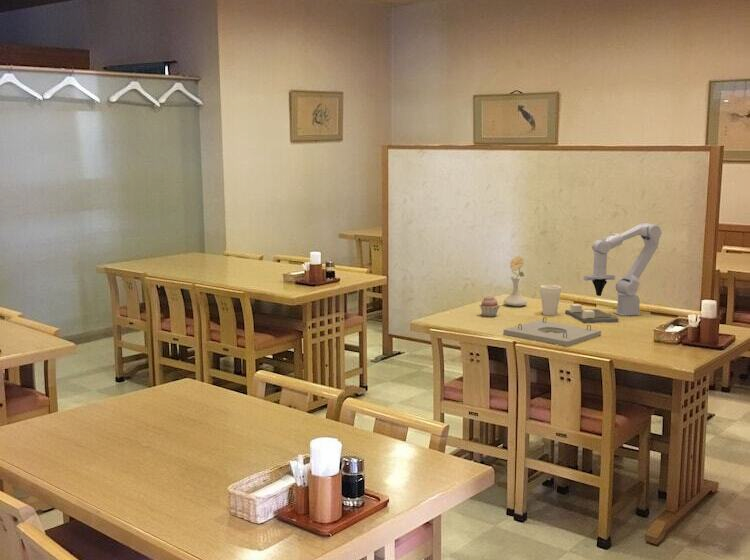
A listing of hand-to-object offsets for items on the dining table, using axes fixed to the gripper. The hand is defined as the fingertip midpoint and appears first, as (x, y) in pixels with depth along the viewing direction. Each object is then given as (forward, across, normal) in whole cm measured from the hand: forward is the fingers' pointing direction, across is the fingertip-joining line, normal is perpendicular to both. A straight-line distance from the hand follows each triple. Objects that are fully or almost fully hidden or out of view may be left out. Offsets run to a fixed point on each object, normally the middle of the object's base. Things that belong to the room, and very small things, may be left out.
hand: (598, 295), depth 380 cm
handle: (+8, -9, +3) cm, 13 cm away
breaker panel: (+9, -5, -4) cm, 11 cm away
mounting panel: (+10, -36, -35) cm, 51 cm away
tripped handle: (+8, -10, -11) cm, 17 cm away
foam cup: (+10, -21, +6) cm, 24 cm away
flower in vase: (+10, -30, +28) cm, 42 cm away
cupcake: (+10, -50, +7) cm, 51 cm away
